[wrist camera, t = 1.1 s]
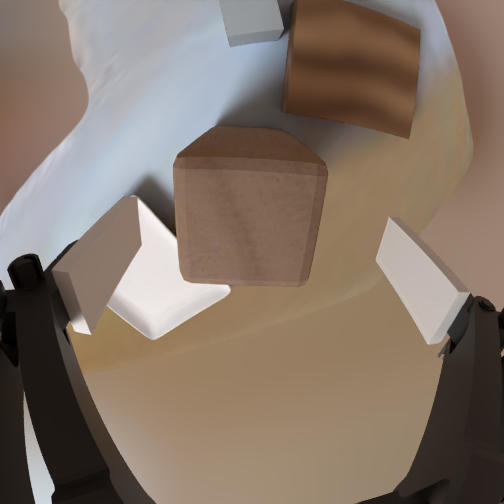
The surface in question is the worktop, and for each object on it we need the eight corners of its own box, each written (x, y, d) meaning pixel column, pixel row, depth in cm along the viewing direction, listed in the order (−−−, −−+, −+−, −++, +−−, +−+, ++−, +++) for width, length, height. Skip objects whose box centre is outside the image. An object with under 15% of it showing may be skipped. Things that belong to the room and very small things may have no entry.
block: (288, 129, 33) (334, 162, 16) (280, 200, 38) (309, 292, 21) (210, 125, 32) (168, 153, 15) (208, 196, 37) (178, 287, 20)
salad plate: (156, 330, 52) (152, 343, 49) (75, 261, 43) (66, 272, 40) (235, 278, 45) (235, 291, 42) (140, 183, 36) (132, 191, 33)
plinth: (291, 3, 23) (298, -10, 19) (401, 34, 24) (420, 29, 20) (281, 111, 31) (286, 113, 27) (391, 133, 32) (409, 139, 28)
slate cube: (222, 9, 24) (217, -7, 19) (269, 3, 23) (273, -14, 18) (230, 47, 27) (227, 36, 22) (277, 40, 26) (283, 29, 21)
